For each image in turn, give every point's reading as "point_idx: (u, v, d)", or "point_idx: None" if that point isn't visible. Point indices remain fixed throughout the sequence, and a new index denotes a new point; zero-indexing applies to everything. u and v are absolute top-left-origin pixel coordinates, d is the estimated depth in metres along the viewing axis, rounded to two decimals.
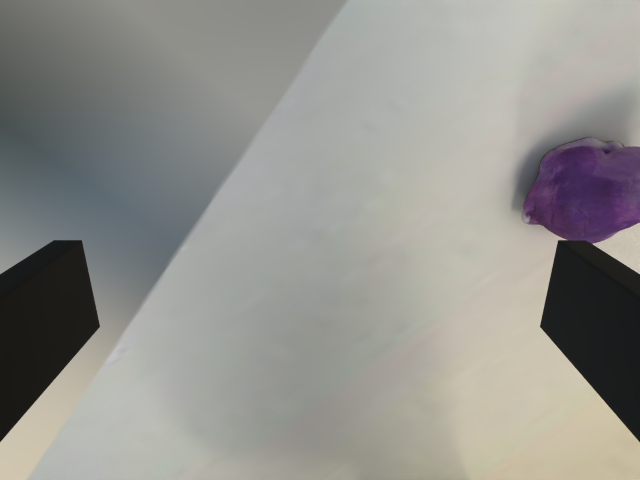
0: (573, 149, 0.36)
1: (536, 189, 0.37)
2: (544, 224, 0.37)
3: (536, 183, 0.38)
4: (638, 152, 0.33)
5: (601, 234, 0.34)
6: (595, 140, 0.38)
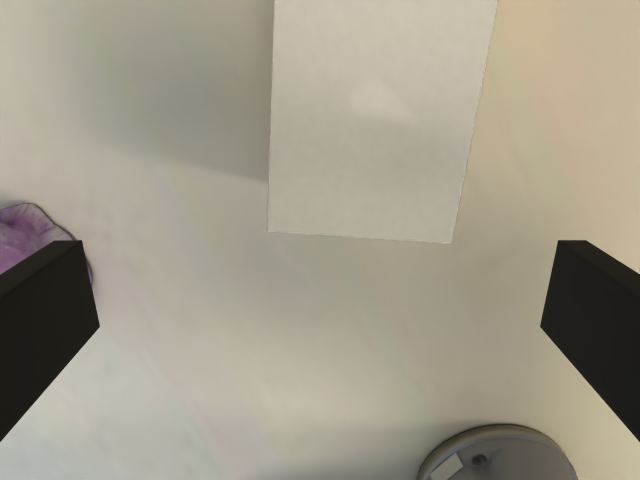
0: None
1: None
2: None
3: None
4: None
5: None
6: None
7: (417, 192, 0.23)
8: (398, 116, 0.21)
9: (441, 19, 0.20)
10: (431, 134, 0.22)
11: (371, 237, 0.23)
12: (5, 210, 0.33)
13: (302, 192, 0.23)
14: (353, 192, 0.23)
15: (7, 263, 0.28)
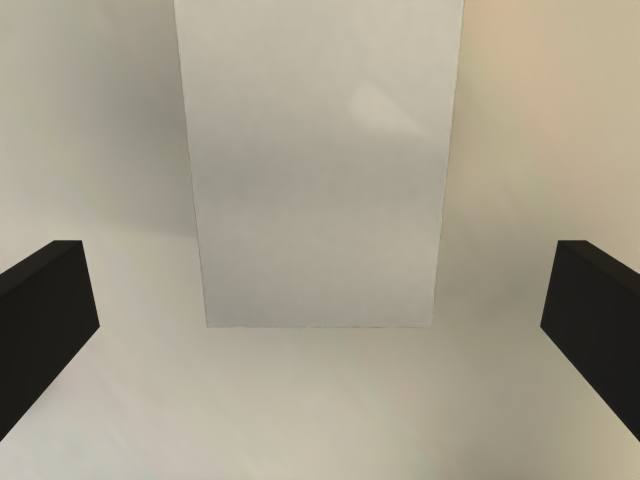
0: None
1: None
2: None
3: None
4: None
5: None
6: None
7: (383, 271, 0.18)
8: (349, 186, 0.17)
9: (390, 67, 0.16)
10: (392, 204, 0.17)
11: (332, 325, 0.19)
12: None
13: (243, 281, 0.19)
14: (305, 277, 0.19)
15: None
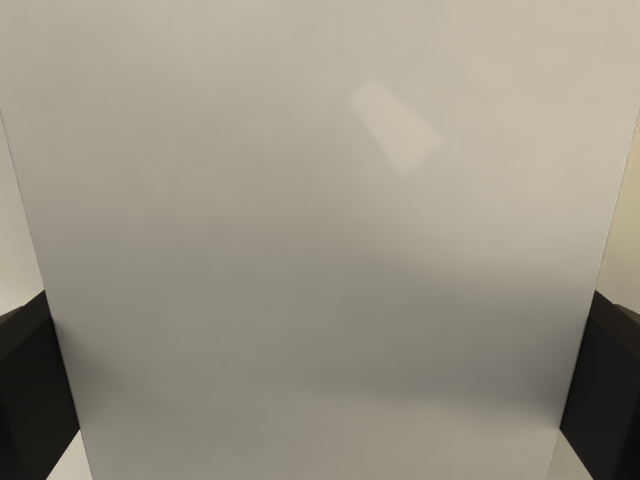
0: None
1: None
2: None
3: None
4: None
5: None
6: None
7: (447, 455, 0.09)
8: (386, 302, 0.08)
9: (494, 42, 0.06)
10: (476, 336, 0.08)
11: None
12: None
13: (170, 471, 0.09)
14: (292, 463, 0.09)
15: None
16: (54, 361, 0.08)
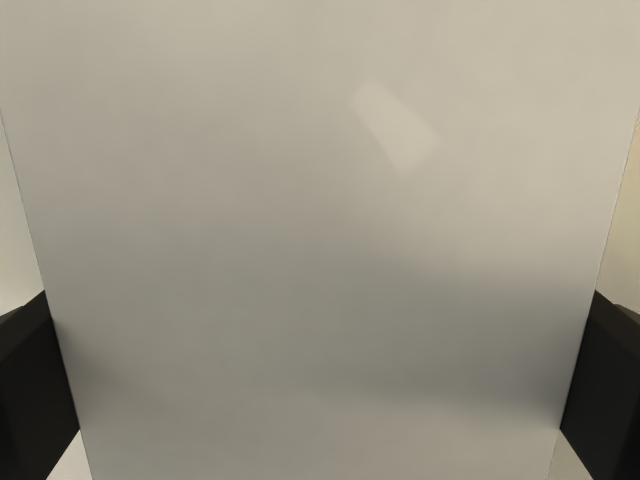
0: None
1: None
2: None
3: None
4: None
5: None
6: None
7: (447, 455, 0.09)
8: (385, 302, 0.08)
9: (494, 42, 0.06)
10: (475, 336, 0.08)
11: None
12: None
13: (170, 470, 0.09)
14: (292, 463, 0.09)
15: None
16: (54, 361, 0.08)
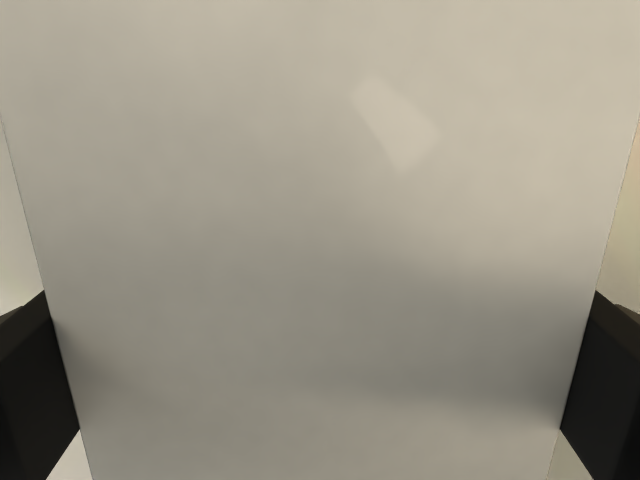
0: None
1: None
2: None
3: None
4: None
5: None
6: None
7: (447, 455, 0.09)
8: (386, 302, 0.08)
9: (495, 41, 0.06)
10: (476, 336, 0.08)
11: None
12: None
13: (170, 470, 0.09)
14: (292, 463, 0.09)
15: None
16: (54, 361, 0.08)
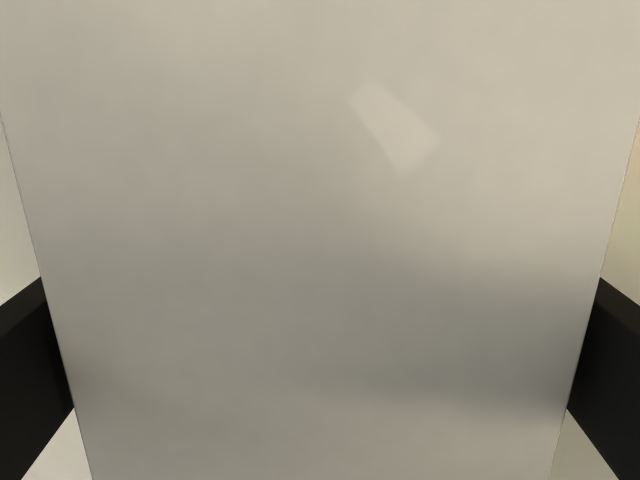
0: None
1: None
2: None
3: None
4: None
5: None
6: None
7: (448, 453, 0.09)
8: (387, 300, 0.08)
9: (496, 37, 0.06)
10: (477, 334, 0.08)
11: None
12: None
13: (170, 469, 0.09)
14: (293, 462, 0.09)
15: None
16: (20, 371, 0.08)
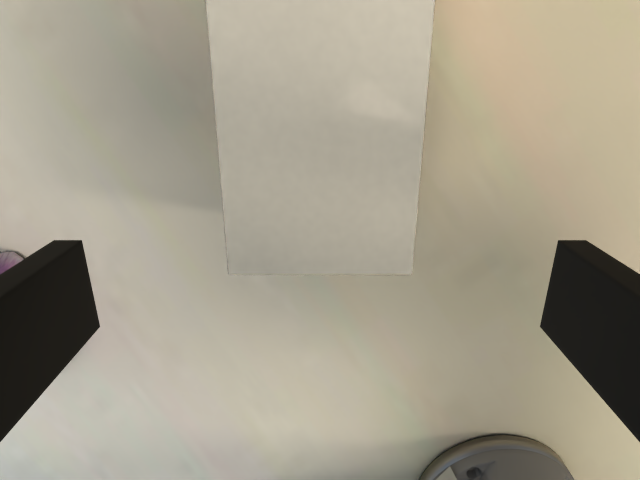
0: None
1: None
2: None
3: None
4: None
5: None
6: None
7: (372, 227, 0.23)
8: (345, 156, 0.21)
9: (377, 60, 0.20)
10: (379, 171, 0.22)
11: (331, 273, 0.24)
12: None
13: (258, 235, 0.23)
14: (309, 232, 0.23)
15: None
16: None
